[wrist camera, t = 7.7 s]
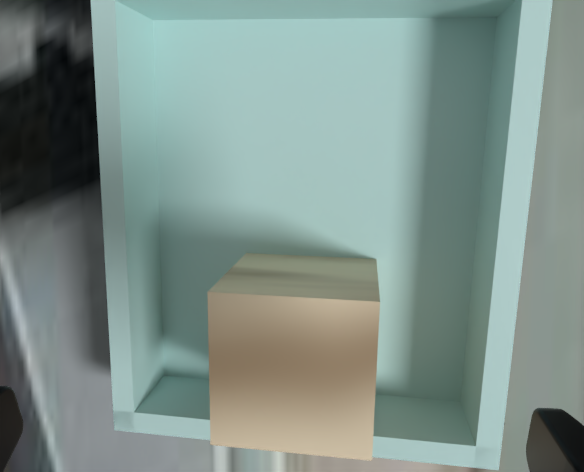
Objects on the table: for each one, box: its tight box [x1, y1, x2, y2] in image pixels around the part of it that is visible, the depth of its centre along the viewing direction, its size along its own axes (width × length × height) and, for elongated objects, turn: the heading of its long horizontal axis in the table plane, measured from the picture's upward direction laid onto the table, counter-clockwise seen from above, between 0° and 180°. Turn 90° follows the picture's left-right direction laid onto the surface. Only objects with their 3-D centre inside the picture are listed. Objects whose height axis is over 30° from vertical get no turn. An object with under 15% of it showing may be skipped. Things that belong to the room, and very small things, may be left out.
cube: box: [207, 253, 380, 461], centre depth 18 cm, size 5×5×5 cm
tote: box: [91, 0, 553, 470], centre depth 18 cm, size 16×14×4 cm
